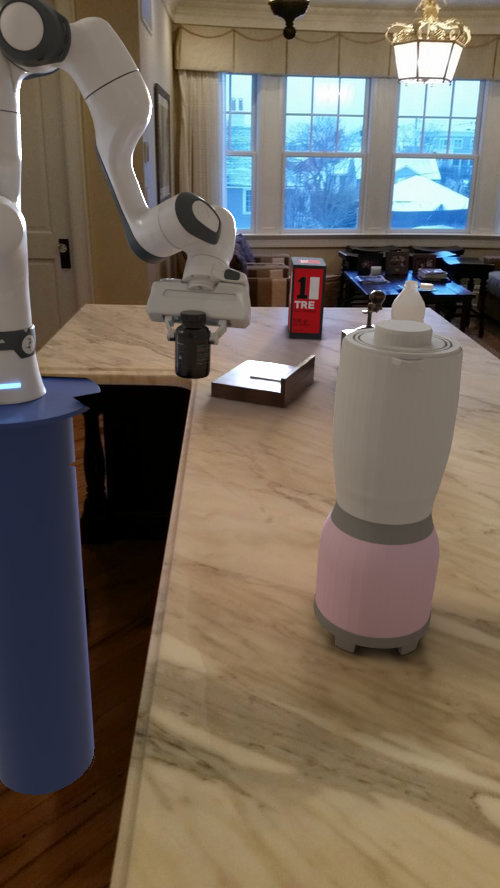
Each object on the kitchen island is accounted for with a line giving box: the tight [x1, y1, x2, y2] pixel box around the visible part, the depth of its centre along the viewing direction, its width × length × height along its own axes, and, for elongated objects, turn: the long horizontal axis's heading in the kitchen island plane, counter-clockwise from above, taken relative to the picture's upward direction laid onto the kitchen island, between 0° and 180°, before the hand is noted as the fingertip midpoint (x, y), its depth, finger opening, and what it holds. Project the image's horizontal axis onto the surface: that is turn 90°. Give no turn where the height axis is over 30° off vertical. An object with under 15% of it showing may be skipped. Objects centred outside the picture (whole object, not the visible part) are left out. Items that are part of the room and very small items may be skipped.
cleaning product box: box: [287, 256, 327, 340], centre depth 199 cm, size 16×9×20 cm, turn 179°
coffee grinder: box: [339, 289, 387, 355], centre depth 163 cm, size 16×11×18 cm
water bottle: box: [389, 279, 435, 323], centre depth 139 cm, size 9×6×25 cm
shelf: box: [210, 354, 316, 408], centre depth 150 cm, size 16×20×6 cm
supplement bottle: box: [174, 310, 212, 380], centre depth 134 cm, size 7×7×12 cm
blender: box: [313, 319, 464, 656], centre depth 71 cm, size 16×12×32 cm
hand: (192, 341), depth 133 cm, fingers closed on supplement bottle, 7 cm apart
